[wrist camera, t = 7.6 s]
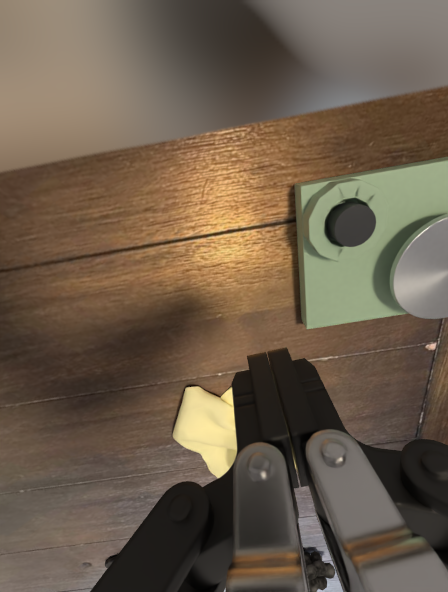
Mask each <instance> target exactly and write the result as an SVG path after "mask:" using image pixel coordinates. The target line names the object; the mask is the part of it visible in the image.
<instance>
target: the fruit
mask: <svg viewBox="0 0 448 592" xmlns="http://www.w3.org/2000/svg"><path fill="white" fill-rule="evenodd" d="M304 558H305V564H306V570H307V576H308V582H309V588H310V592H317V590H318V589H320V590H324V589H325V588H326V587H327V580H326V578H330V579H331V578H333V577H334V575H335V569H334V567H333V566H332V565H331V564H330V563H324V562H323V561H322V557H321V555H320V554H319V553H318V552H316V551H314V552H311V555H310V554H309V553H307V552H304ZM325 577H326V578H325Z"/></svg>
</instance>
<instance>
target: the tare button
mask: <svg viewBox="0 0 448 592" xmlns="http://www.w3.org/2000/svg"><path fill="white" fill-rule="evenodd" d="M375 227H376V217H375V214H374V212H373V211H372V210H371V209H370V208H369V207H367V206H364V205H361V204H358V203H355V202H345V203H342V204H340V205H338V206H337V207H336V208H335V209H334V210H333V211H332V212H331V213H330V215H329V217H328V220H327V231H328V233H329V235H330V236H331V237H332V238H333V239H334V240H336V241H337V242H338V243H340V244H341V245H343V246H346V247H355V246H359V245H361V244H363V243H365V242H366V241H367V240H368V239H369V238H370V237H371V236H372V234H373V232H374V230H375Z"/></svg>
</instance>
